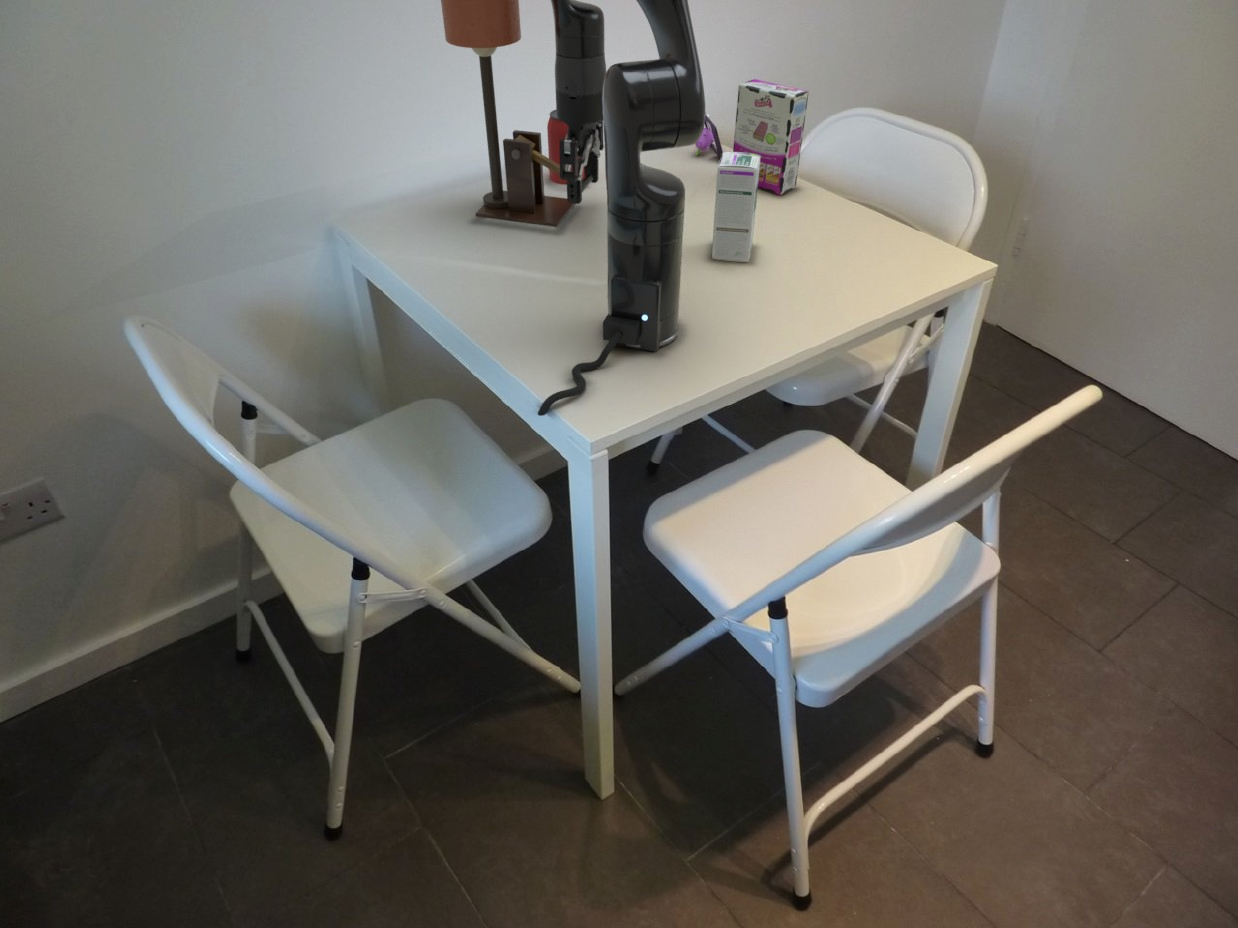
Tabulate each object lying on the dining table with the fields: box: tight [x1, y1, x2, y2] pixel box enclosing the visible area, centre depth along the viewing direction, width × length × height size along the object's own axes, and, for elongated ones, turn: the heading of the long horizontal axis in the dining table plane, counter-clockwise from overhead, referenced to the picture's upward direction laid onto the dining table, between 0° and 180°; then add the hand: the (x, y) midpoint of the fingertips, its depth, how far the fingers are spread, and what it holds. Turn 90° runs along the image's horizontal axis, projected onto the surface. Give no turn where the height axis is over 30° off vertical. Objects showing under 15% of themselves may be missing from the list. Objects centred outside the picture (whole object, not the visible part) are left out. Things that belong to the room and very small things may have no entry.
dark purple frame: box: [694, 113, 724, 159], centre depth 159 cm, size 7×5×9 cm
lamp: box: [440, 0, 522, 209], centre depth 129 cm, size 11×11×32 cm
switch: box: [515, 135, 593, 193], centre depth 132 cm, size 13×6×2 cm, turn 76°
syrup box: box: [711, 151, 760, 263], centre depth 124 cm, size 6×6×14 cm
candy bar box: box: [732, 78, 810, 196], centre depth 144 cm, size 11×5×16 cm, turn 48°
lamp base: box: [475, 129, 576, 228], centre depth 135 cm, size 14×10×13 cm
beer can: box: [546, 109, 584, 185], centre depth 146 cm, size 7×7×12 cm
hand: (583, 192), depth 134 cm, fingers open, 8 cm apart
